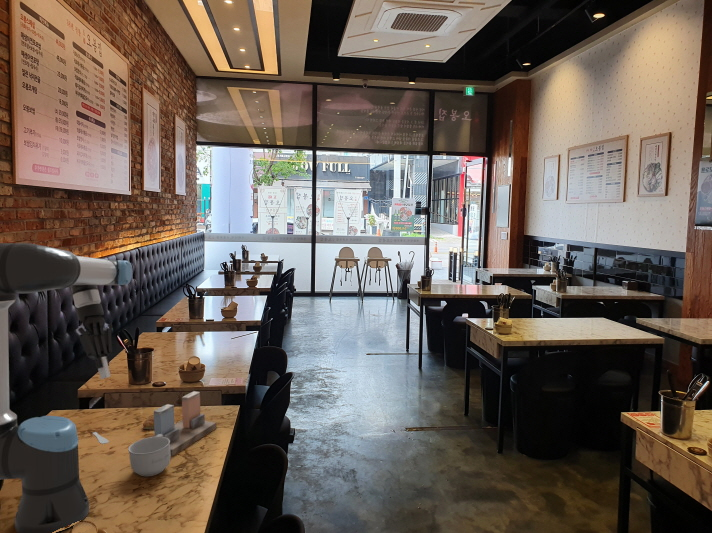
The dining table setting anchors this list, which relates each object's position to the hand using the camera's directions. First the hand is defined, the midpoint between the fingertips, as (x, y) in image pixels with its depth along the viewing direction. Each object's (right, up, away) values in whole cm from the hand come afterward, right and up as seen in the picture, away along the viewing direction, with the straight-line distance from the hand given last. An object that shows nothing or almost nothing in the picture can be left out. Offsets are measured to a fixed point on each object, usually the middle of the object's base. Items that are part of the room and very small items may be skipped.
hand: (105, 377), depth 167 cm
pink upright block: (+25, -17, +8) cm, 31 cm away
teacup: (+22, -22, -17) cm, 36 cm away
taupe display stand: (+23, -20, +2) cm, 30 cm away
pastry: (+11, -19, +14) cm, 26 cm away
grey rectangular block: (+20, -18, -4) cm, 27 cm away
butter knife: (-8, -20, +7) cm, 23 cm away
